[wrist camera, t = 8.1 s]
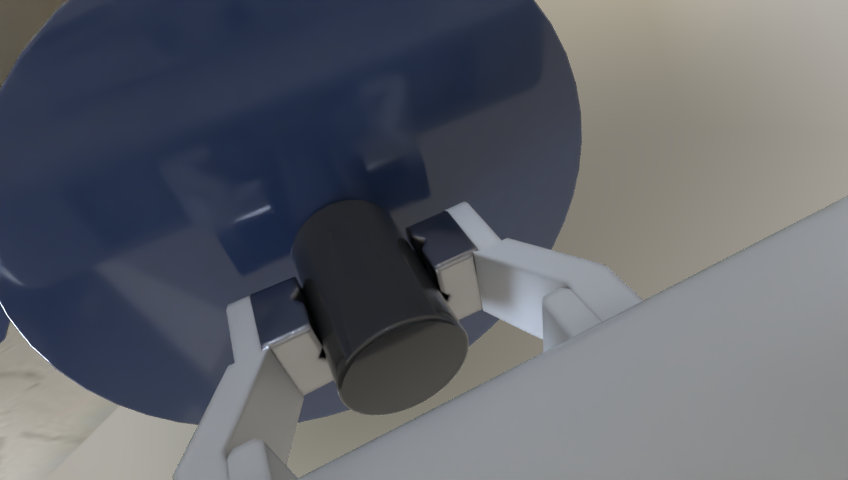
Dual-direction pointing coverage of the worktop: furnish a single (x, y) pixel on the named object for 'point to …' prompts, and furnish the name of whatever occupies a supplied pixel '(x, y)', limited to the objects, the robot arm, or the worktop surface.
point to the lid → (270, 183)
